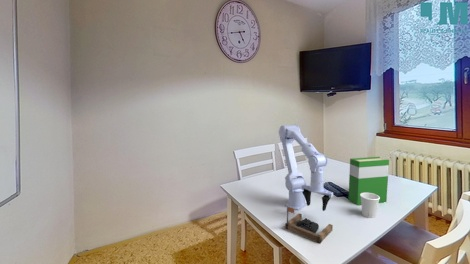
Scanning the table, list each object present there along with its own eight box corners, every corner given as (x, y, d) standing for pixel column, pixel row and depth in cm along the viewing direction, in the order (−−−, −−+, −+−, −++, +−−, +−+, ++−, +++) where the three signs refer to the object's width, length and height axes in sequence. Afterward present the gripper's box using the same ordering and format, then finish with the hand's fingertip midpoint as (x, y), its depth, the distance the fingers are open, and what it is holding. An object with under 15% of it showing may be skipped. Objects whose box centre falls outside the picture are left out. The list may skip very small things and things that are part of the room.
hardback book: (376, 197, 133) (378, 156, 130) (386, 202, 126) (389, 159, 123) (348, 199, 130) (350, 158, 127) (357, 205, 123) (359, 162, 120)
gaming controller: (294, 225, 104) (300, 213, 106) (299, 230, 107) (305, 218, 109) (313, 234, 96) (319, 221, 98) (318, 239, 99) (323, 227, 101)
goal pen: (298, 218, 111) (299, 197, 110) (332, 230, 100) (333, 207, 99) (285, 228, 102) (285, 206, 101) (320, 243, 91) (320, 218, 90)
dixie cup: (381, 220, 108) (383, 199, 106) (362, 218, 109) (363, 198, 108) (374, 211, 116) (375, 192, 114) (356, 210, 117) (357, 191, 116)
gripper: (336, 181, 105) (334, 209, 107) (306, 174, 115) (305, 200, 117) (330, 185, 100) (328, 214, 102) (299, 178, 110) (299, 205, 112)
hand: (316, 207), depth 109 cm, fingers open, 7 cm apart
